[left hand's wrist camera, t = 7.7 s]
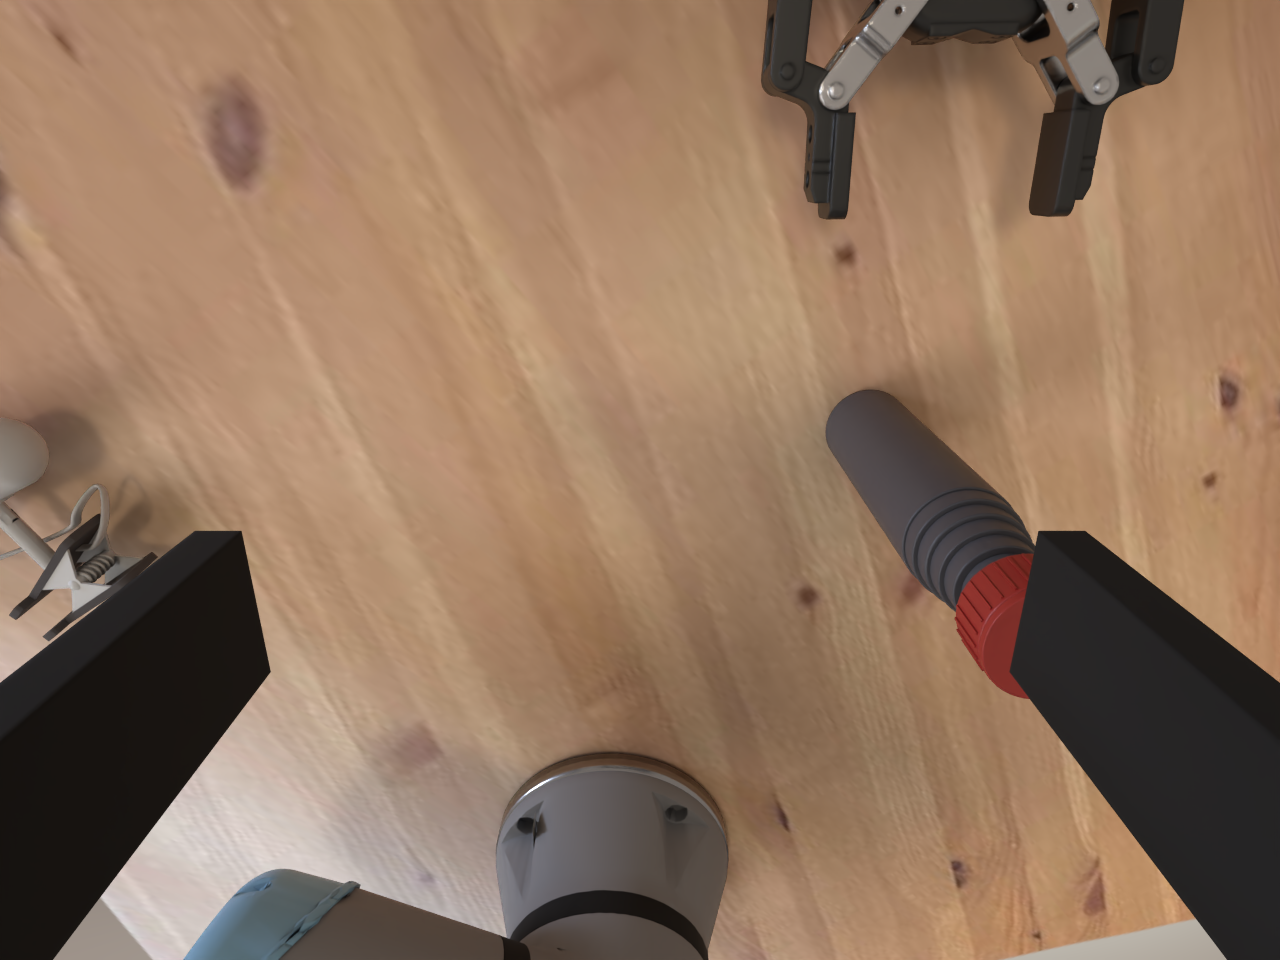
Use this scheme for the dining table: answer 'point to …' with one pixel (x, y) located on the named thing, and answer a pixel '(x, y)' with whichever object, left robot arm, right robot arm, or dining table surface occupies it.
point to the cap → (995, 617)
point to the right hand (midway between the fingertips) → (940, 216)
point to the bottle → (923, 494)
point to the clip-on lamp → (60, 533)
